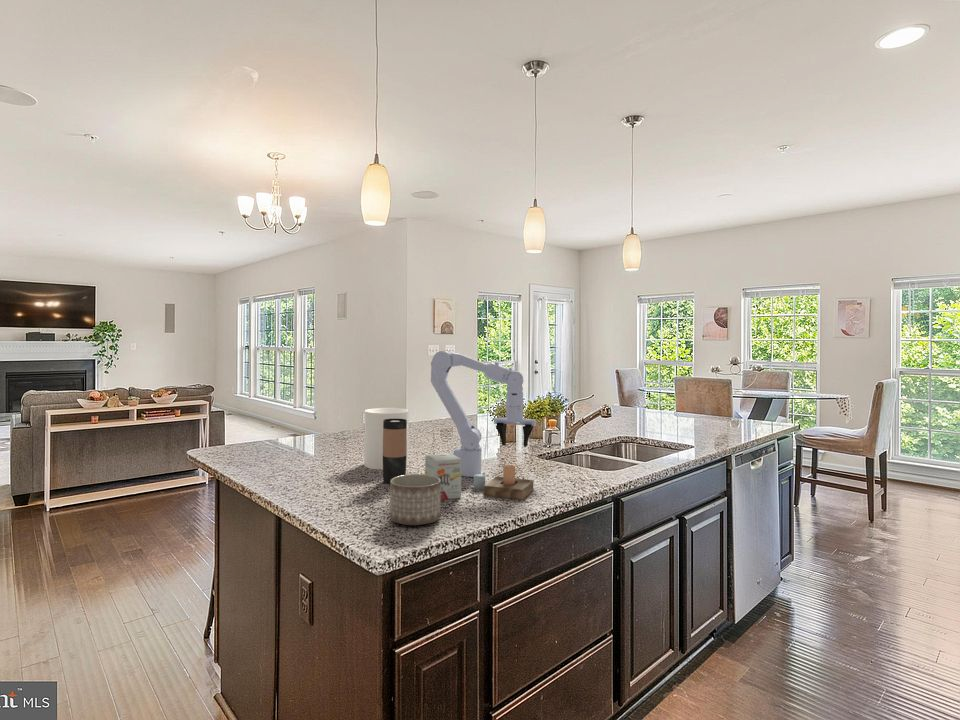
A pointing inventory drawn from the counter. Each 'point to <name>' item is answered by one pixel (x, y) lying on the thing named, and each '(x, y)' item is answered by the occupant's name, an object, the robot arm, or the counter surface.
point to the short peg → (479, 481)
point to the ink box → (446, 473)
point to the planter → (415, 499)
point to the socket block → (508, 488)
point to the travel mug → (394, 448)
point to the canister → (379, 434)
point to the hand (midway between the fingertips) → (514, 445)
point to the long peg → (509, 475)
